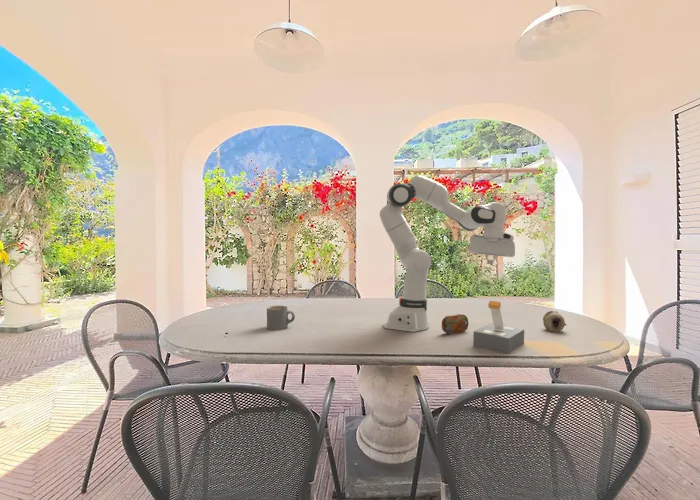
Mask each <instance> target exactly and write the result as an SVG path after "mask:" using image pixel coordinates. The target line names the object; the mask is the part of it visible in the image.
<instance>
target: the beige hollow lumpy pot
mask: <svg viewBox="0 0 700 500" xmlns="http://www.w3.org/2000/svg"><path fill="white" fill-rule="evenodd" d="M542 321H543V322H542V323H543V326H544V328H545V330H547V331H550V332H557V333H558V332H560V331H563V329H564V328H565V327H566V326H567V323H566V322H565V318H564V317H563V315H562V314H561V313H559V312H558V310H557V311H556V310H555V311H554V310H549V311H547V312H545V314H544V315H543V316H542Z"/></svg>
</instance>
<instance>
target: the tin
mask: <svg viewBox="0 0 700 500" xmlns="http://www.w3.org/2000/svg"><path fill="white" fill-rule="evenodd" d="M468 328H469V319H468V317H467V316H466V315H465V314H460V313H458V314H457V313H456V314H453V315H452V314H451V315H446V316H444V318H443V319H442V320H441V330H442V332H443V333H445V334H448V335H457V334H459V333H460V334H461V333H465V331H467V329H468Z"/></svg>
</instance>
